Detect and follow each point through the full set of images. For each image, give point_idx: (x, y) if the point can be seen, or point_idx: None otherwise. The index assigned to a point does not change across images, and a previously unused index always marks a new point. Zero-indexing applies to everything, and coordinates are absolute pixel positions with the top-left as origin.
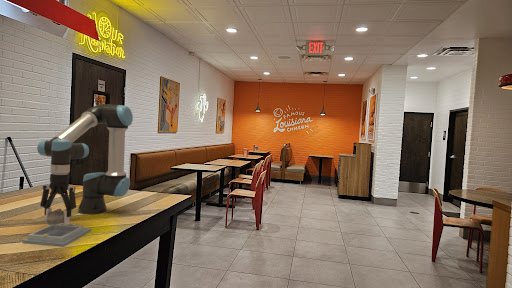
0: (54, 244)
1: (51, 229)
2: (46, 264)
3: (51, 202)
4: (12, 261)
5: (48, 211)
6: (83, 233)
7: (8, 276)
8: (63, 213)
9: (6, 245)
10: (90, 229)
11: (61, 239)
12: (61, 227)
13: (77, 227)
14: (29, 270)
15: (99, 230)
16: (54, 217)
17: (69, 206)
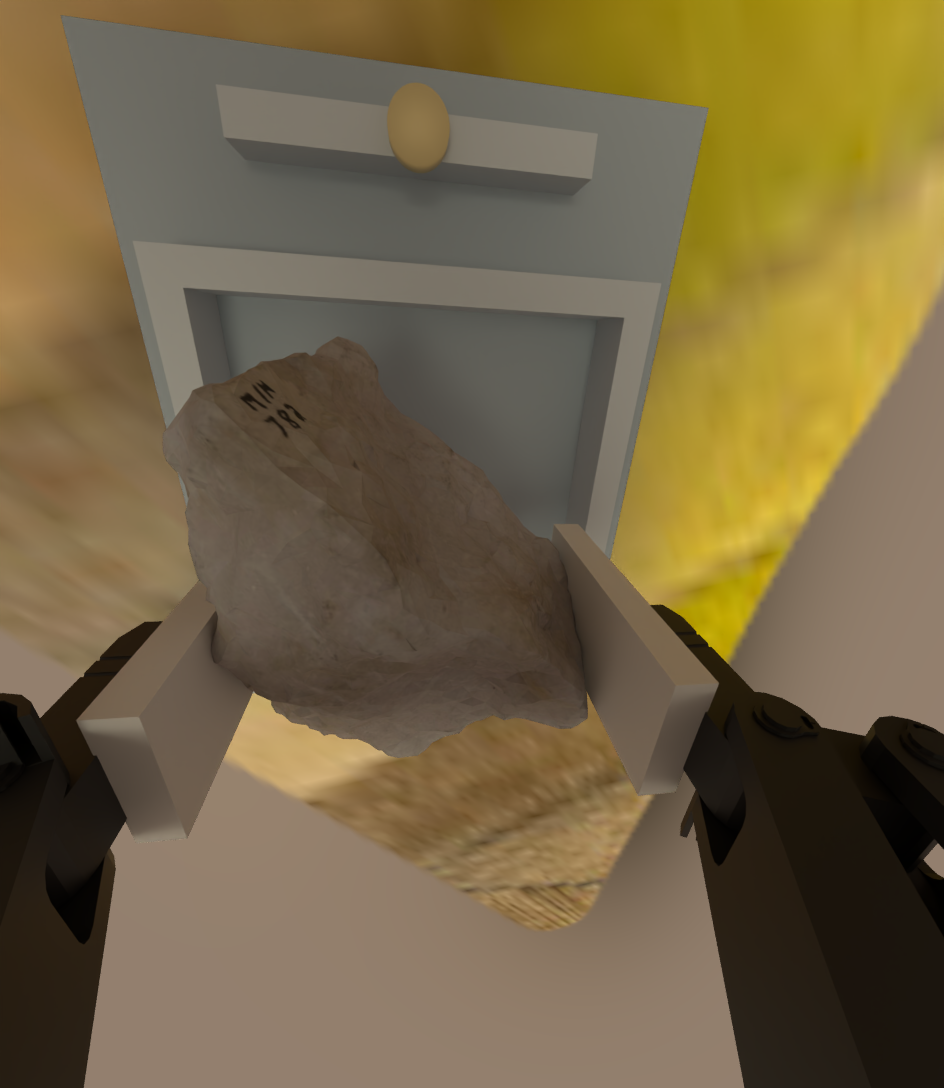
0: None
1: (218, 331)
2: (601, 825)
3: (3, 998)
4: (428, 843)
5: (211, 746)
6: (651, 353)
7: (515, 911)
8: (550, 670)
9: None
10: (695, 149)
11: None
12: (341, 301)
13: (588, 316)
14: (561, 871)
15: (789, 75)
16: (438, 728)
17: (778, 790)
